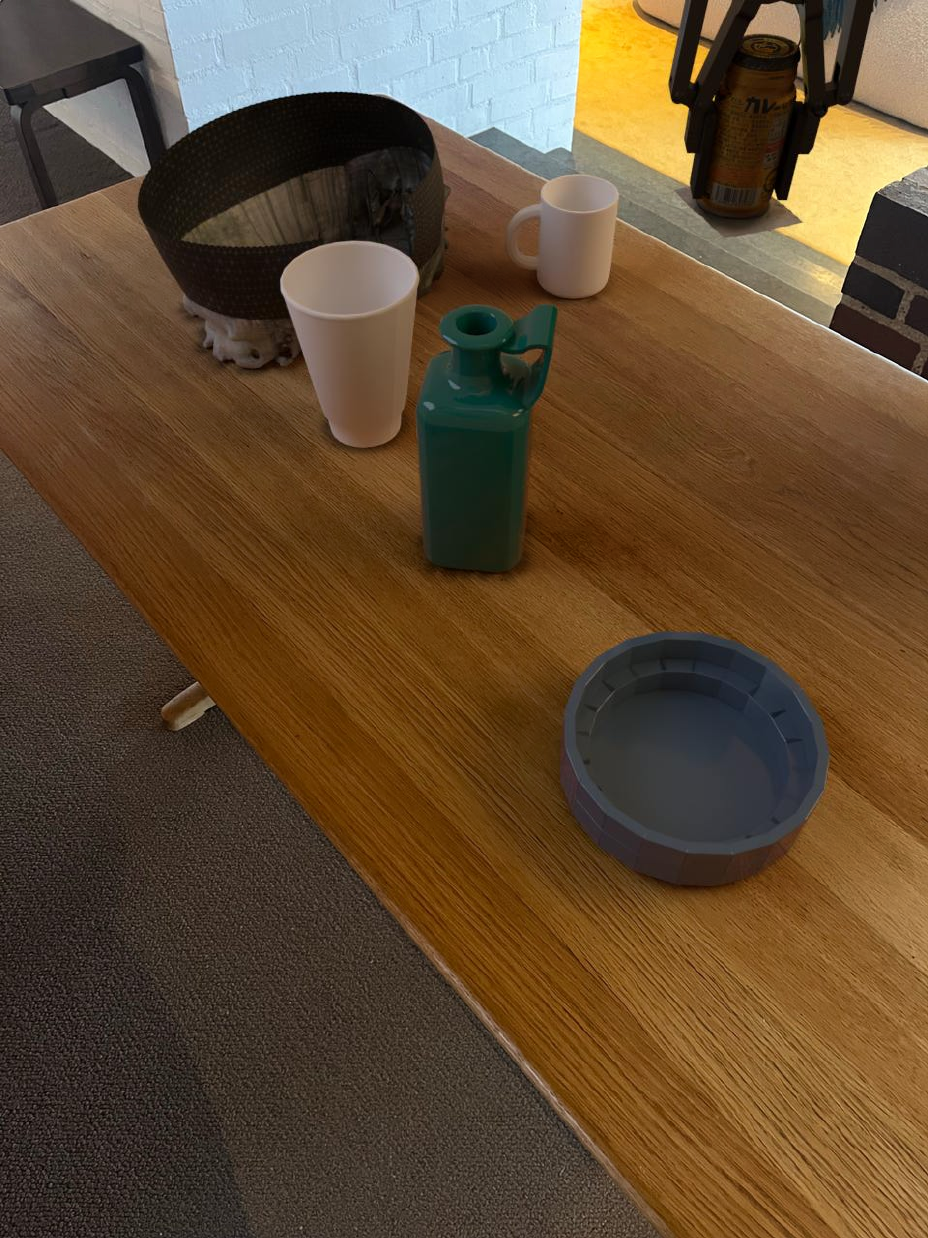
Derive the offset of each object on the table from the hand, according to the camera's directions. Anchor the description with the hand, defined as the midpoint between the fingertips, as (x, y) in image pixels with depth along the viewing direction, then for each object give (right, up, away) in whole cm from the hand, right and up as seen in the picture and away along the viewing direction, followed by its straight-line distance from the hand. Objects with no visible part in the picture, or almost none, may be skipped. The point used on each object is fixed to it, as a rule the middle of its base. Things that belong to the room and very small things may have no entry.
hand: (737, 190), depth 78 cm
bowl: (-7, -46, -9) cm, 47 cm away
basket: (-38, +1, +30) cm, 48 cm away
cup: (-32, -16, +16) cm, 39 cm away
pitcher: (-21, -28, +6) cm, 35 cm away
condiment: (0, -1, +1) cm, 2 cm away
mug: (-12, +4, +32) cm, 34 cm away
